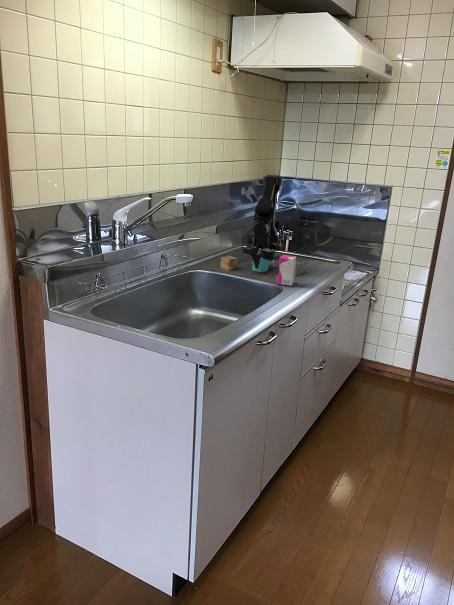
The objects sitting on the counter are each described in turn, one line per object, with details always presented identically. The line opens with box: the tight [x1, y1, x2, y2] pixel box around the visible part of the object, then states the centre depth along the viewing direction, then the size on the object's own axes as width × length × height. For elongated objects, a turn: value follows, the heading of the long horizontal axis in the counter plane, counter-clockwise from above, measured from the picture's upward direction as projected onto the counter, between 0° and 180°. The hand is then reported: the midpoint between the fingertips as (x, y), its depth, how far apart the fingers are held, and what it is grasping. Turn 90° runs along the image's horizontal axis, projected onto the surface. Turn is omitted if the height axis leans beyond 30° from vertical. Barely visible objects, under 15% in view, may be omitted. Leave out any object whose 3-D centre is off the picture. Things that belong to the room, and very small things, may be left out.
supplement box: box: [277, 254, 297, 288], centre depth 200 cm, size 6×6×12 cm
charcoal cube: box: [295, 260, 305, 276], centre depth 218 cm, size 5×5×5 cm
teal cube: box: [252, 258, 270, 273], centre depth 220 cm, size 5×5×5 cm
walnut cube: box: [220, 255, 238, 271], centre depth 220 cm, size 5×5×5 cm
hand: (260, 267), depth 220 cm, fingers closed on teal cube, 5 cm apart
